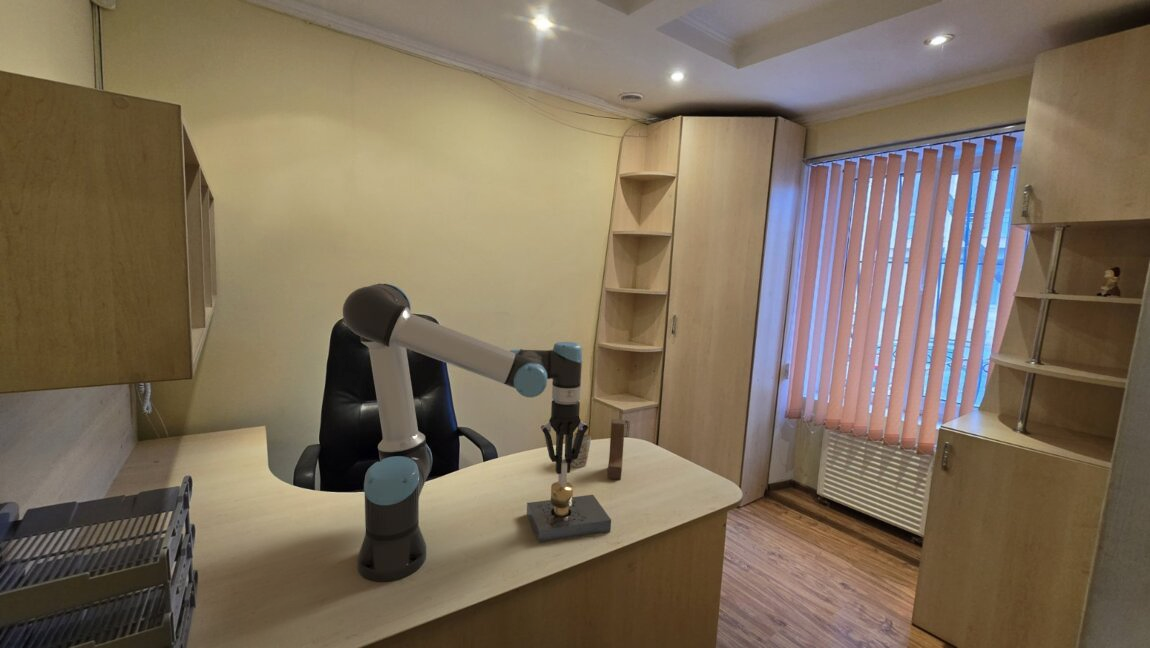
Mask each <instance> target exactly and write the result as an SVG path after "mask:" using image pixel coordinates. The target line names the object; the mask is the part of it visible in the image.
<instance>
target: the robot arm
mask: <svg viewBox="0 0 1150 648" xmlns="http://www.w3.org/2000/svg"><path fill="white" fill-rule="evenodd" d="M411 310H412V307H411V301H410V299H409V297H408V295H407V294H406V293H405V291H404V290H403V289H401V288H399V287H398V286H396V285H394V284H390V283H389V284H388V283H376V284H371V285H368V286H362V287H360V288H357V289H355V290H353V291H352V292H351V293H349V295H348V296H347V297H346V299H345V300H344V303H343V307H342V318H343V321H344V323H345V325H346V326H347V327H348V329H349V330H350V332H352V333H354V334H355V335H357V336H359V338H360V339H359V340H360V343H362V344H363V345H364V346H366V347H367V348H368V352H369V358H370V365H371V371H372V376H373V383H374V389H375V396H376V403H377V410H378V414H379V415H378V416H379V421H380V426H381V427H380V428H381V434H382V435H381V436H382V440H381V441H380V442H379V443H378V445H377V449H378V455H379V457H378V458H379V461H376V462H374V463H373V464H372V465H370V467H369V468H368V469H367V471H366V472H365V476H364V482H363V493H364V516H365V517H364V522H365V524H364V525H365V534H364V537H363V541H362V543H361V546H360V549H359V552H358V555H357V572H358V573H359V574H360V576H361V577H362V578H365V579H367V580H370V581H372V582H391V581H396V580H399V579H403V578H405V577H407V576H410V575H412V574H413V573H415V572H416V571H418V570H419V569H420V568H422V566H423V565H424V563H425V561H426V559H427V543H426V542H425V539H424V538H425V537H424V535H423V533H422V531H421V528H420V525H419V522H420V521H419V515H420V514H419V508H420V506H419V502H420V495H421V493H422V490H423V488H424V485H425V483H426V481H427V478H428V476H429V475H430V473H431V471H432V466H433V455H432V451H431V448H430V447H429V446H428V444H427V442H426V435H425V434H424V433H422V432H421V431H419V428H418V421H417V415H416V408H415V407H416V406H415V400H414V395H413V394H414V393H413V387H412V380H411V374H410V366H409V360H408V353H407V349H408V350H410V351H412V352H416V353H418V354H421V355H424V356H427V357H429V358H432V359H434V360H437V361H439V362H440V361H441V362H443V363H446V364H448V365H451V366H453V367H457V368H458V369H459V368H460V369H463V370H464V371H467V372H471V373H473V374H476V375H478V376H481V377H484V378H487V379H490V380H492V381H494V382H498V383H500V384H503V385H506V386H508V387H511V388H513V389H515V390H516V391H517V393H519V394H520V395H521V396H523V397H525V398H535V397H538V396H540V395H541V394H542V393H543V392H544V391H545V390H546V388H547V385H548V380H550V379H551V380H552V382H551V385H552V386H551V388H552V389H551V399H552V401H551V410H550V411H551V412H550V418H549V420H548V423H547V424H544V425H543V424H542V425H541V426H540V429H541V431H542V432H543V434H544V439H545V444H546V449H547V452H548V453H547V454H548V457H549V459H550V460H551V462H553V463H555V472H556V474H557V475H558V480H557V482H559V484H560V486H561V487H562V486H566V483H567V482H568V481H567V479H568V478H567V477H568V474H570V472H571V463H572V460H574V459H575V460H576V459H577V458H578V455H579V451H580V448H581V444H582V441H583V437H584V434H586V432H587V430H589V426H588V424H586V423H585V422H583V421H581V420H582V419H581V418H580V407H581V406H580V405H581V403H580V399H581V384H582V383H581V381H582V367H583V357H582V356H583V353H582V350H583V349H582V346H581V344H579V343H577V342H573V341H558V342H555V343H554V345H553V348H552V349H548V350H546V349H545V350H543V349H523V348H520V349H511V350H507V349H505V348H502V347H499V346H498V345H497V346H496V345H494V344H492V343H489V342H487V341H484V340H481V339H479V338H475V337H473V336H470V335H468V334H466V333H462V332H460V331H457V330H455V329H453V328H450V327H448V326H444V325H441V324H439V323H436V322H434V321H431V320H429V319H426V318H424V317H421V316H418V315H415V314H413V313H412V311H411ZM552 429H553V431H554V432H555V448H554V445H553V444H554V443H553V439H552V435H551V433H552ZM576 429H577V430H576ZM575 431H576V433H577V434H576V437H575V441H574V444H573V448H572V438H573V433H575ZM564 439H565V440H564ZM563 449H564V452H563ZM563 453H564V458H563Z"/></svg>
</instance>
